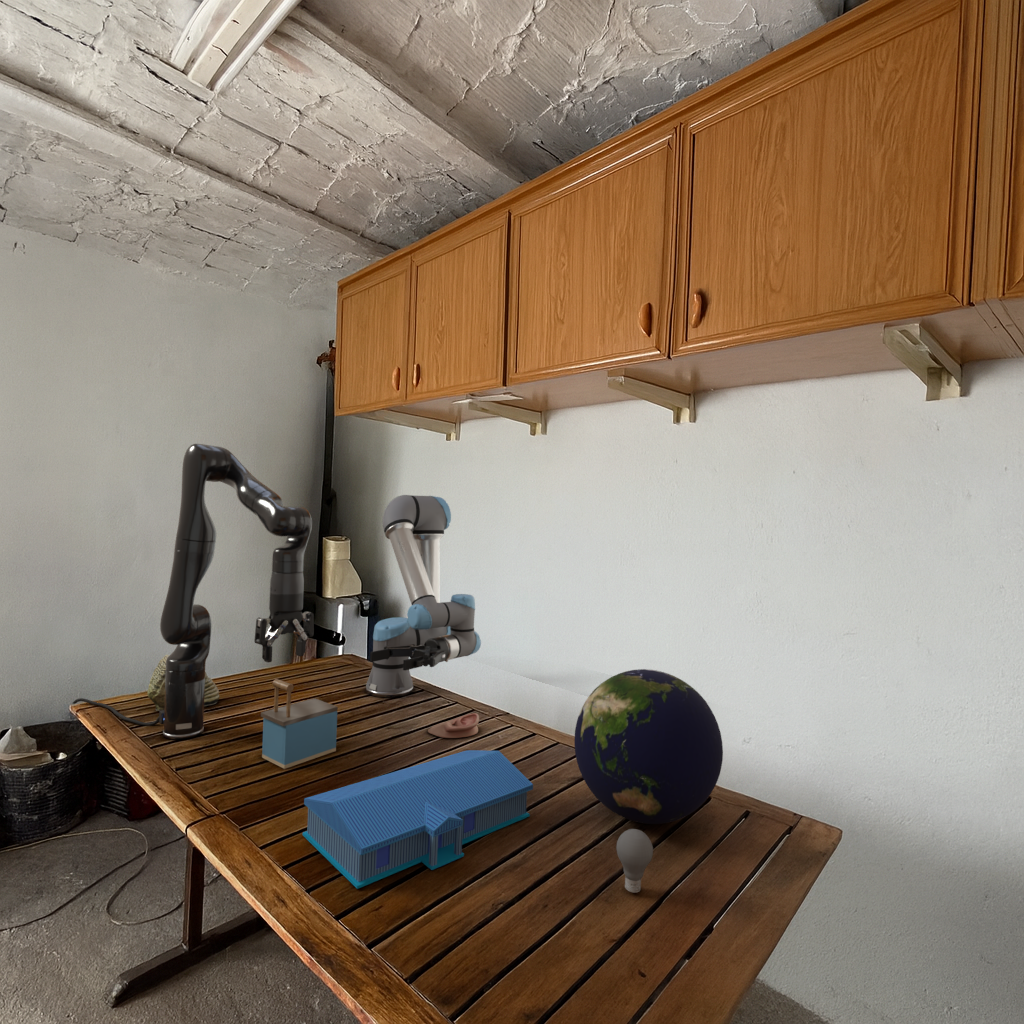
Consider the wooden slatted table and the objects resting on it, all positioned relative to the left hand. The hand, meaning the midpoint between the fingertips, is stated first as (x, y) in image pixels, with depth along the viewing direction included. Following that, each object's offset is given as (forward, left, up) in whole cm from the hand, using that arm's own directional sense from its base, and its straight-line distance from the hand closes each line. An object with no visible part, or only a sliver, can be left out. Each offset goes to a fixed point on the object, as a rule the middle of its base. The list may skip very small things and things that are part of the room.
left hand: (284, 658), depth 150 cm
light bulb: (+85, +24, -24) cm, 91 cm away
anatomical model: (+10, +45, -24) cm, 52 cm away
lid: (-1, +5, -14) cm, 15 cm away
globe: (+71, +47, -24) cm, 88 cm away
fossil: (-53, -6, -24) cm, 59 cm away
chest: (-1, +5, -24) cm, 25 cm away
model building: (+47, +9, -24) cm, 54 cm away
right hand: (-4, +31, -6) cm, 32 cm away
